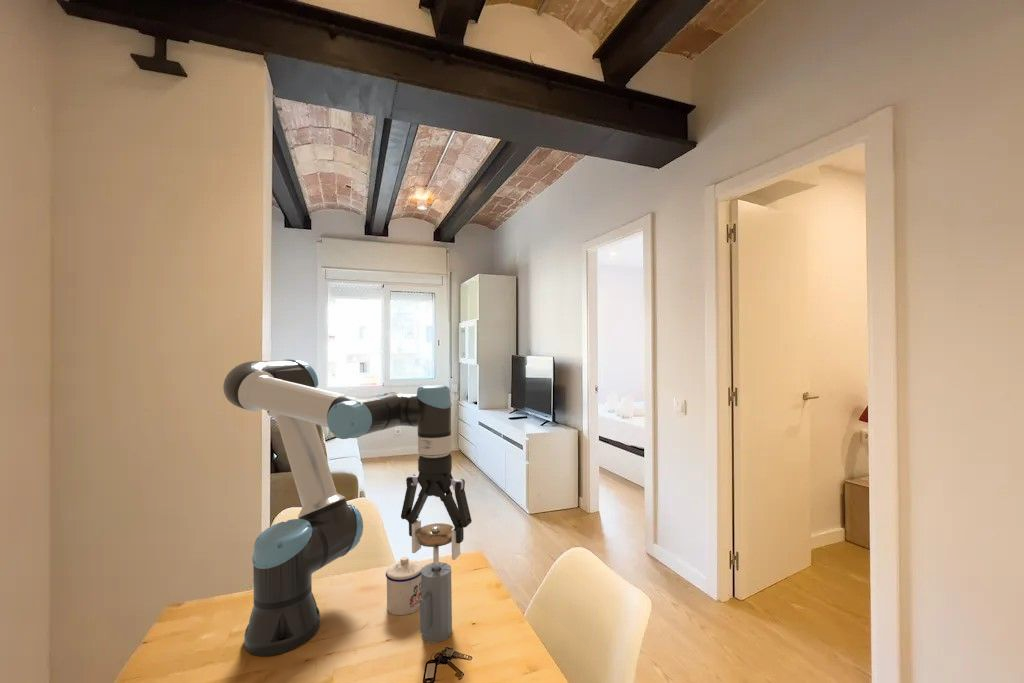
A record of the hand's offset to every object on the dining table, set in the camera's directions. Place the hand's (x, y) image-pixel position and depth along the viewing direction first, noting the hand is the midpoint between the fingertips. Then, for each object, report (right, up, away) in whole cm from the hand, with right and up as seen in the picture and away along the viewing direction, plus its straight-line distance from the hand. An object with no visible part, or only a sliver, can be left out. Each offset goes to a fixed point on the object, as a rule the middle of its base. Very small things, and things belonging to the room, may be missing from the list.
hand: (436, 553), depth 97 cm
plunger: (0, -9, 0) cm, 9 cm away
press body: (0, -18, -2) cm, 18 cm away
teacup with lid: (-9, -18, +12) cm, 23 cm away
